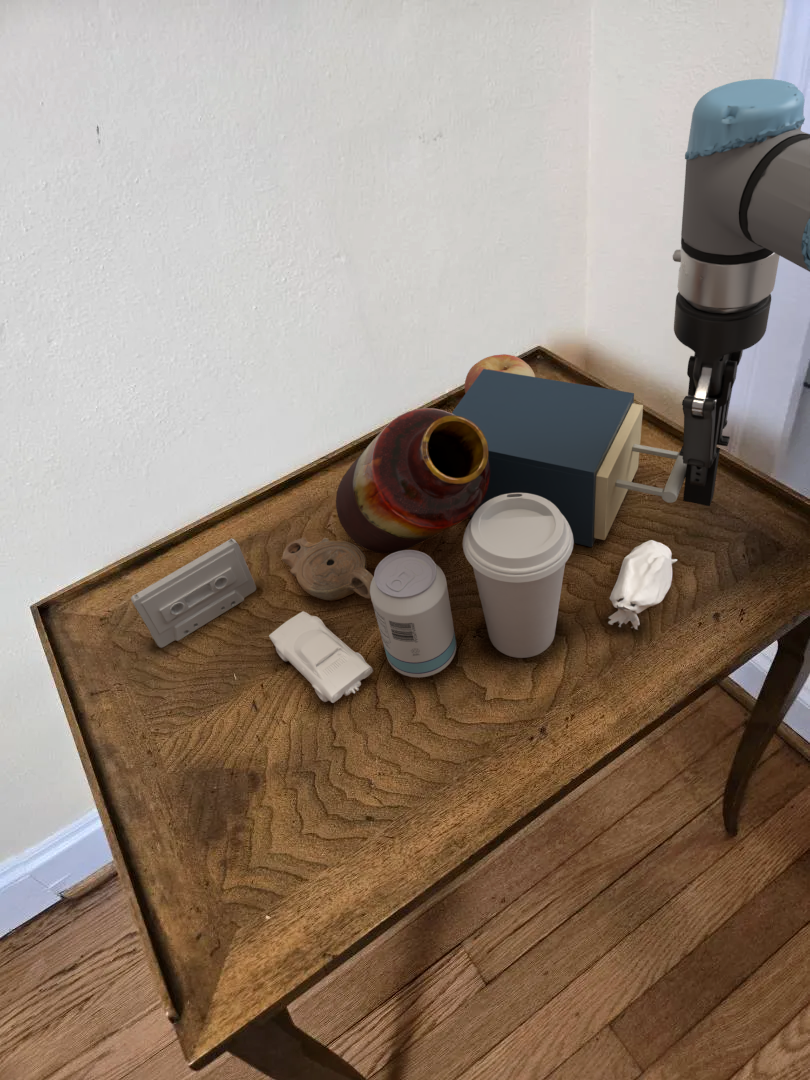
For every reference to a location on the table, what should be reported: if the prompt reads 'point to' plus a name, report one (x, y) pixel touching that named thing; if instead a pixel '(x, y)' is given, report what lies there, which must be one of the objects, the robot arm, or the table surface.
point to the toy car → (320, 656)
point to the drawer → (629, 472)
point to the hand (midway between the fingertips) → (698, 498)
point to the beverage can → (413, 613)
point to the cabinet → (546, 439)
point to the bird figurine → (641, 581)
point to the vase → (414, 481)
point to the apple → (498, 367)
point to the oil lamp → (328, 568)
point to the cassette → (195, 593)
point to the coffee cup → (519, 569)
